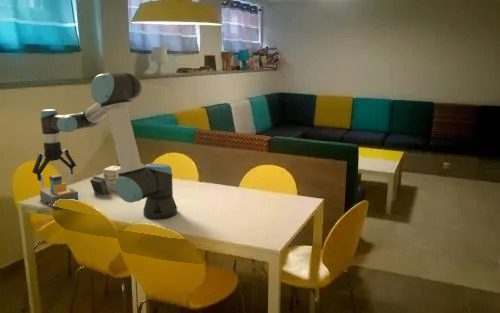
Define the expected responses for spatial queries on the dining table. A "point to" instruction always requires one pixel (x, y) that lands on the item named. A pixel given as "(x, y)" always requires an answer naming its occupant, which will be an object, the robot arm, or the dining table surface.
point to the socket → (52, 197)
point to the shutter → (61, 189)
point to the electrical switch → (100, 185)
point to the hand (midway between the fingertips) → (56, 183)
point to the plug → (55, 181)
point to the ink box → (111, 176)
